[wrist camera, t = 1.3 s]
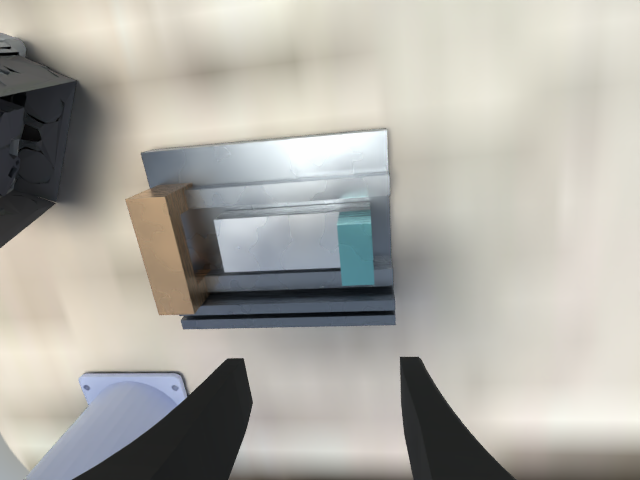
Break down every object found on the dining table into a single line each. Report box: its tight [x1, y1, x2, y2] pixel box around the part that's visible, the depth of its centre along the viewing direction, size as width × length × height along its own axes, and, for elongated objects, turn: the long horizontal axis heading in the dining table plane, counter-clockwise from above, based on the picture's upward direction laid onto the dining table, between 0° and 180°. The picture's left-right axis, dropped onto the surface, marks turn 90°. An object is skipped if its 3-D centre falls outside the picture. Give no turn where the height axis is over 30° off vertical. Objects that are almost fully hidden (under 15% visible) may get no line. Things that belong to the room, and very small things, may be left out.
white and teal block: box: [214, 202, 374, 286], centre depth 19 cm, size 3×8×4 cm, turn 95°
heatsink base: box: [125, 128, 396, 329], centre depth 20 cm, size 10×13×4 cm
